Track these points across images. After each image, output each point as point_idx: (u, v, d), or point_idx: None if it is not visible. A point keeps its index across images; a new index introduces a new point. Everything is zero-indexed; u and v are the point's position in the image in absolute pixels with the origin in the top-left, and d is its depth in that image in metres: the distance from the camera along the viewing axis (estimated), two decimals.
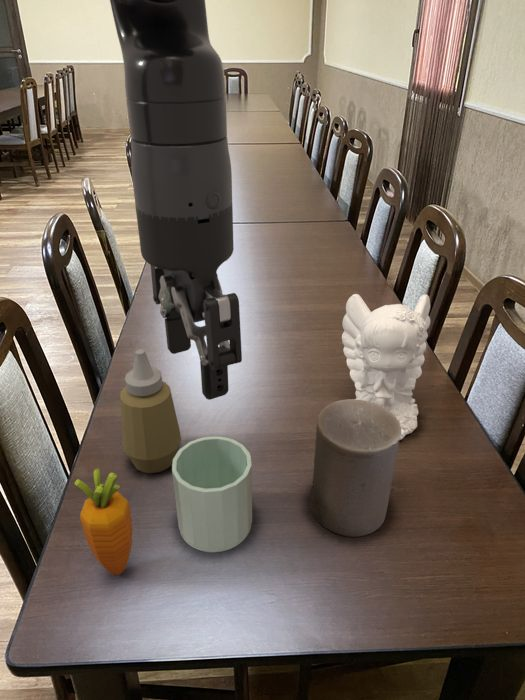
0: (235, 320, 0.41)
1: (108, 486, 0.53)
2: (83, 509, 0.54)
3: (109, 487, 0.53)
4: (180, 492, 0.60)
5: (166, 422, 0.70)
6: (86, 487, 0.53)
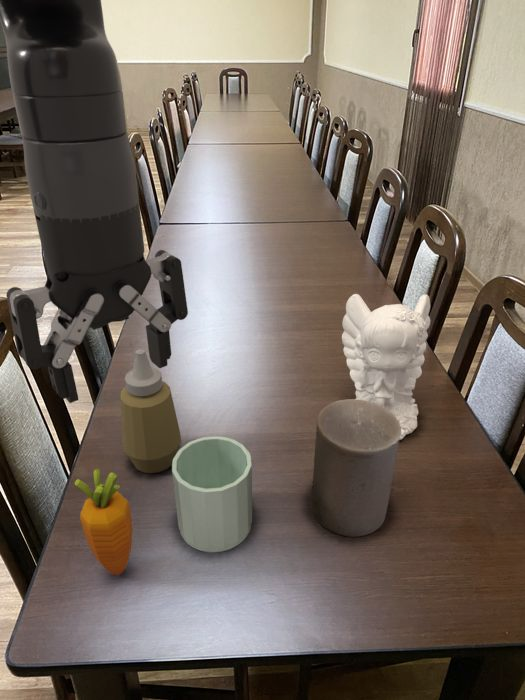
0: (18, 322, 0.39)
1: (108, 486, 0.53)
2: (83, 509, 0.54)
3: (109, 487, 0.53)
4: (180, 492, 0.60)
5: (166, 422, 0.70)
6: (86, 487, 0.53)
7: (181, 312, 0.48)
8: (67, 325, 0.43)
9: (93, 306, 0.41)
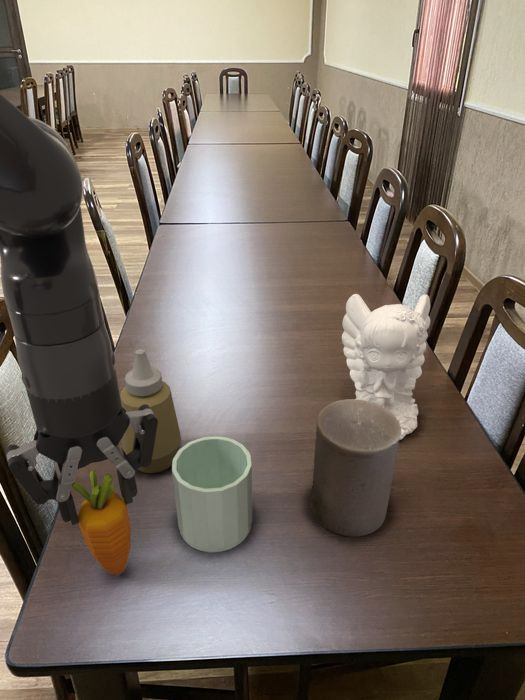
0: None
1: (104, 487, 0.53)
2: (80, 511, 0.54)
3: (105, 488, 0.53)
4: (180, 492, 0.60)
5: (166, 422, 0.70)
6: (82, 489, 0.53)
7: (145, 461, 0.53)
8: None
9: (74, 456, 0.48)
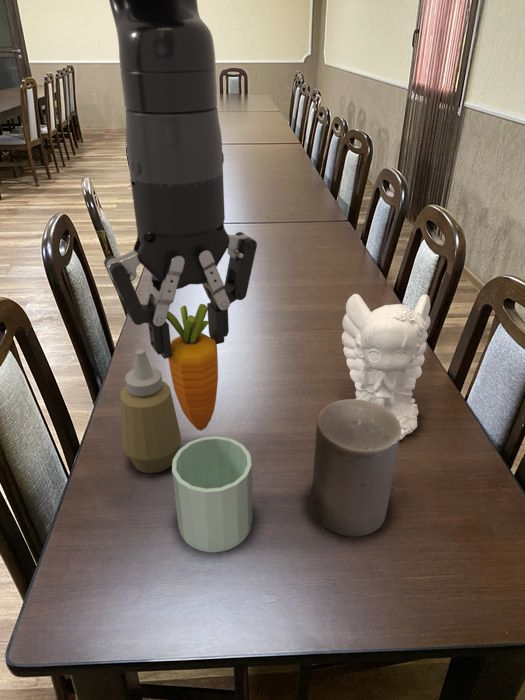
0: (117, 287, 0.45)
1: (199, 317, 0.50)
2: (171, 346, 0.52)
3: (200, 318, 0.50)
4: (180, 492, 0.60)
5: (166, 422, 0.70)
6: (176, 319, 0.50)
7: (241, 292, 0.51)
8: (160, 286, 0.49)
9: (176, 267, 0.46)
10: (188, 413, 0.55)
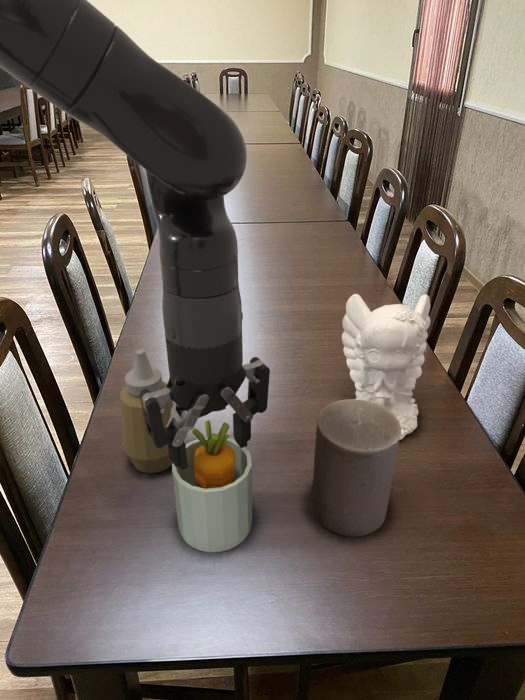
0: (148, 417, 0.53)
1: (222, 434, 0.59)
2: (196, 456, 0.60)
3: (223, 435, 0.59)
4: (180, 492, 0.60)
5: (166, 422, 0.70)
6: (201, 435, 0.59)
7: (262, 407, 0.59)
8: (182, 412, 0.57)
9: (201, 403, 0.54)
10: None
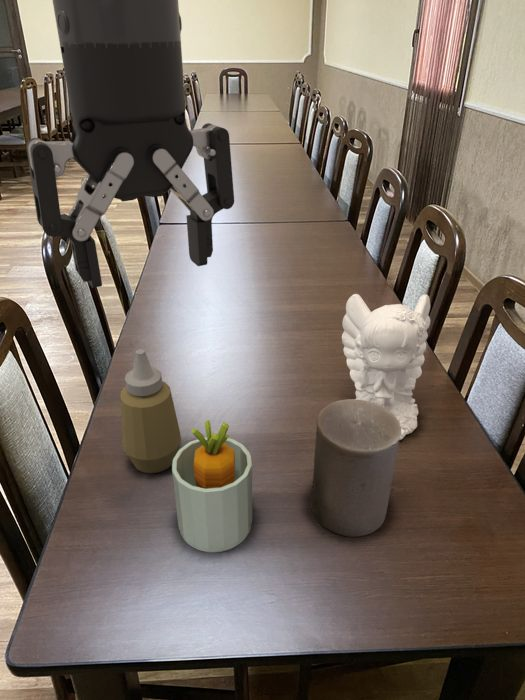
0: (34, 175, 0.34)
1: (221, 434, 0.59)
2: (196, 456, 0.60)
3: (222, 435, 0.59)
4: (180, 492, 0.60)
5: (166, 422, 0.70)
6: (201, 435, 0.59)
7: (226, 199, 0.41)
8: None
9: (121, 168, 0.36)
10: None
